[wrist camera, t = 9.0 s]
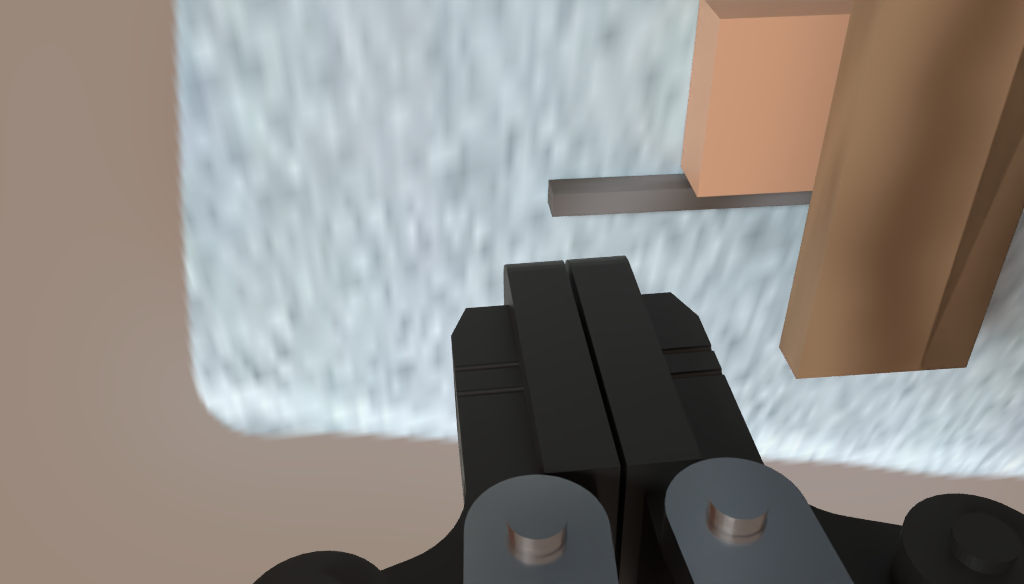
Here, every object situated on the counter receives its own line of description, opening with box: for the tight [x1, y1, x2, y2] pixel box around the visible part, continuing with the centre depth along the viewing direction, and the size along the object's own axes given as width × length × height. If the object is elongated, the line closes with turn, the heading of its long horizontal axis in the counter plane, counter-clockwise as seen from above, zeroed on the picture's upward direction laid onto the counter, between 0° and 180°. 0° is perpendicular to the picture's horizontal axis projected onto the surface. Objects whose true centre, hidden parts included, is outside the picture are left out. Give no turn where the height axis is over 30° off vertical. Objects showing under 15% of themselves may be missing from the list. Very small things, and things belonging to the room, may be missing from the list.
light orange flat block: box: [681, 0, 853, 197], centre depth 37 cm, size 8×7×2 cm
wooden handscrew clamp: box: [548, 0, 1024, 379], centre depth 35 cm, size 16×20×6 cm
